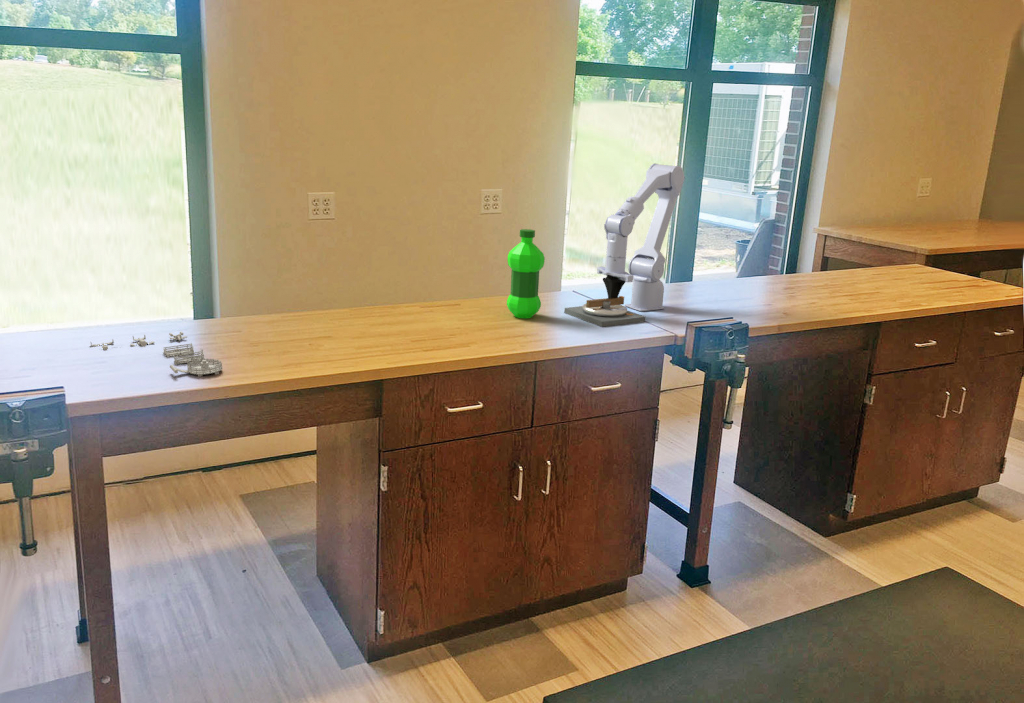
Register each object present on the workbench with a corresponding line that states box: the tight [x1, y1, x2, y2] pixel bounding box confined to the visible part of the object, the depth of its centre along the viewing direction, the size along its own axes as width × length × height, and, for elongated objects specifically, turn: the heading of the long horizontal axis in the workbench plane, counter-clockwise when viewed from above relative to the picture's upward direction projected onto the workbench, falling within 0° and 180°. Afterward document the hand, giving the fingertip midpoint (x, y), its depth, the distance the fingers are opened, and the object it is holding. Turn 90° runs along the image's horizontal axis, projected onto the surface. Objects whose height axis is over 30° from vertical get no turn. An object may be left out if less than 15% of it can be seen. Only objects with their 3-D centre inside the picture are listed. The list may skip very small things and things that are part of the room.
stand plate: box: [563, 305, 646, 328], centre depth 259 cm, size 16×18×2 cm
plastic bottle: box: [506, 228, 545, 319], centre depth 252 cm, size 10×10×25 cm
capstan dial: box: [582, 295, 628, 317], centre depth 258 cm, size 13×13×4 cm
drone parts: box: [90, 331, 223, 377], centre depth 199 cm, size 23×35×3 cm, turn 33°
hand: (612, 301), depth 261 cm, fingers closed, pressing on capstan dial
